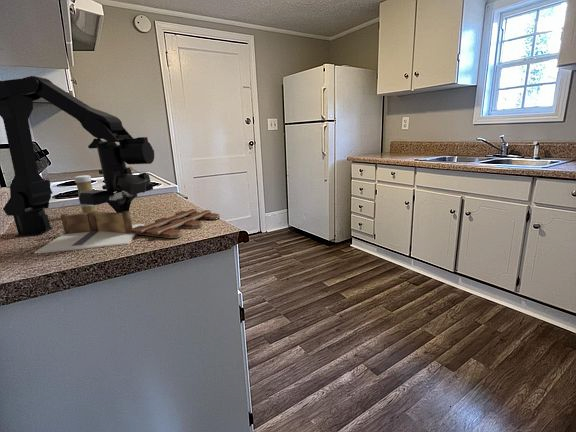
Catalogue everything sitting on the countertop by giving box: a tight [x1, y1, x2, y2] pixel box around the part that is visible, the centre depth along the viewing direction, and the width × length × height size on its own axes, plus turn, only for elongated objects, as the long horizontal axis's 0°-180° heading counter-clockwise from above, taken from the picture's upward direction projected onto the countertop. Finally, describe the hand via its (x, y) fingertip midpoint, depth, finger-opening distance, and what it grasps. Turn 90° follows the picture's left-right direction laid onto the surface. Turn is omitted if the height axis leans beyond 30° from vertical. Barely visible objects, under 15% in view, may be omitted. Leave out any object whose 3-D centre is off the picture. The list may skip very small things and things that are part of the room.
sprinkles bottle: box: [74, 174, 98, 213], centre depth 104 cm, size 5×5×13 cm
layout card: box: [34, 223, 145, 255], centre depth 81 cm, size 20×17×1 cm
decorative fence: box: [130, 208, 221, 239], centre depth 89 cm, size 23×2×15 cm
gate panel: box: [95, 210, 133, 233], centre depth 83 cm, size 11×2×6 cm, turn 73°
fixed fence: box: [60, 210, 99, 233], centre depth 85 cm, size 9×2×5 cm, turn 102°
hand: (125, 221), depth 85 cm, fingers closed
